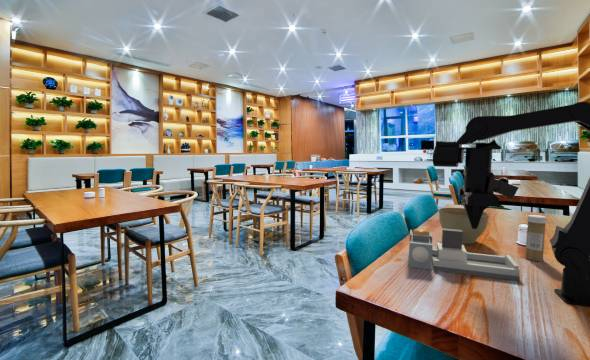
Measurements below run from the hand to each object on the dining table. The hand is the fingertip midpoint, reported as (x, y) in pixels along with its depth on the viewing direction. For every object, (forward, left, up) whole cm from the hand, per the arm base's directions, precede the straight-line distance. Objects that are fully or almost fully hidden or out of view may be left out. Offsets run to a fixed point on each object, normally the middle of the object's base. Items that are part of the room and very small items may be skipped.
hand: (474, 228), depth 80 cm
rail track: (+8, -1, -13) cm, 15 cm away
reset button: (+8, +13, -6) cm, 16 cm away
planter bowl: (+37, -2, -13) cm, 39 cm away
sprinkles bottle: (+23, -20, -13) cm, 33 cm away
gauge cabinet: (+8, +12, -13) cm, 20 cm away
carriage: (+8, +4, -12) cm, 15 cm away
